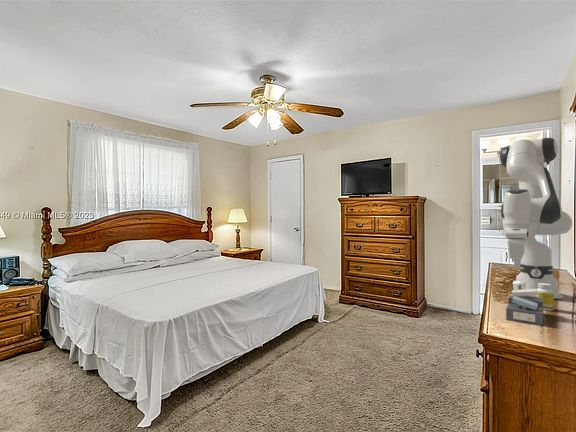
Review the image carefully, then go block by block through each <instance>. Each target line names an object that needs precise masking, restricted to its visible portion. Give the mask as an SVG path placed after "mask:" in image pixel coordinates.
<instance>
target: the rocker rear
mask: <svg viewBox="0 0 576 432" xmlns="http://www.w3.org/2000/svg"><path fill="white" fill-rule="evenodd" d="M512 294H514V296H533V295H538V291H537V289H524V290H514V292H513V293H512Z"/></svg>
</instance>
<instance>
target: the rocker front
mask: <svg viewBox="0 0 576 432" xmlns="http://www.w3.org/2000/svg"><path fill="white" fill-rule="evenodd" d="M512 303H515V304H518V305H521V306H524V307H527V308H530V309H533V310H536V309H537V304H538V303H535V302H532V301H529V300H526V299H523V298H520V297H517V296H514V297H513V299H512Z"/></svg>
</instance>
